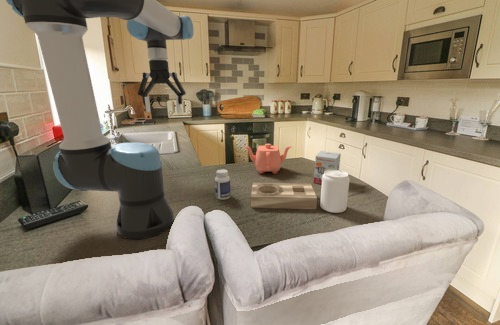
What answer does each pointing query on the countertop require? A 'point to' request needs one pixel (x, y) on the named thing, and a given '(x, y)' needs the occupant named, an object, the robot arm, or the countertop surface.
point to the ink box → (325, 164)
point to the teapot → (268, 158)
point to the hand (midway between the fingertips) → (163, 112)
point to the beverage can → (334, 191)
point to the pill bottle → (222, 185)
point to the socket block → (283, 196)
